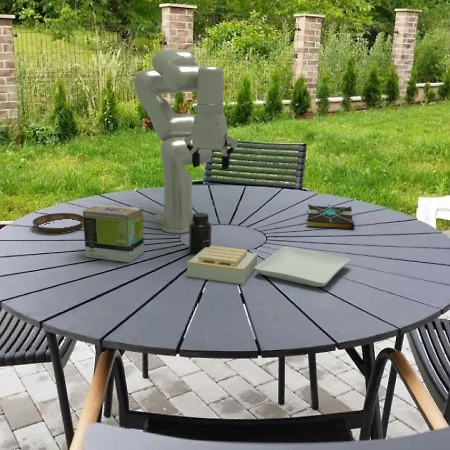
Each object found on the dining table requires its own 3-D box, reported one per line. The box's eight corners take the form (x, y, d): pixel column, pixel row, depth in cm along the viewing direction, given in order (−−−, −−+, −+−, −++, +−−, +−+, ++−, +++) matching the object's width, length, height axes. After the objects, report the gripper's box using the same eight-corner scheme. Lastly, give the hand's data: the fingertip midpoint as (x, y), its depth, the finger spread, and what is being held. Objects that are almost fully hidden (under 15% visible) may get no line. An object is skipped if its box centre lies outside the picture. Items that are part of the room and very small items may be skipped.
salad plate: (324, 294, 149) (325, 282, 148) (252, 278, 159) (252, 266, 158) (350, 269, 167) (351, 257, 166) (283, 255, 177) (284, 245, 176)
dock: (187, 276, 159) (187, 257, 157) (205, 259, 172) (205, 242, 170) (242, 284, 154) (242, 265, 152) (256, 266, 167) (257, 248, 165)
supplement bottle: (208, 256, 174) (208, 218, 171) (186, 254, 176) (186, 217, 172) (213, 249, 181) (213, 212, 177) (192, 247, 182) (192, 211, 179)
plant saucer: (89, 232, 196) (88, 224, 195) (35, 238, 190) (34, 229, 189) (81, 219, 212) (81, 211, 211) (31, 223, 205) (30, 215, 204)
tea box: (145, 253, 177) (143, 206, 172) (129, 264, 168) (127, 215, 163) (102, 247, 181) (99, 201, 177) (84, 257, 172) (81, 210, 168)
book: (354, 232, 201) (355, 218, 200) (305, 229, 204) (306, 215, 202) (351, 215, 222) (352, 202, 220) (307, 212, 224) (307, 200, 223)
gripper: (178, 110, 169) (179, 167, 173) (231, 112, 162) (231, 172, 166) (190, 108, 175) (191, 163, 180) (242, 110, 168) (242, 168, 173)
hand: (210, 167), depth 173 cm, fingers open, 9 cm apart
